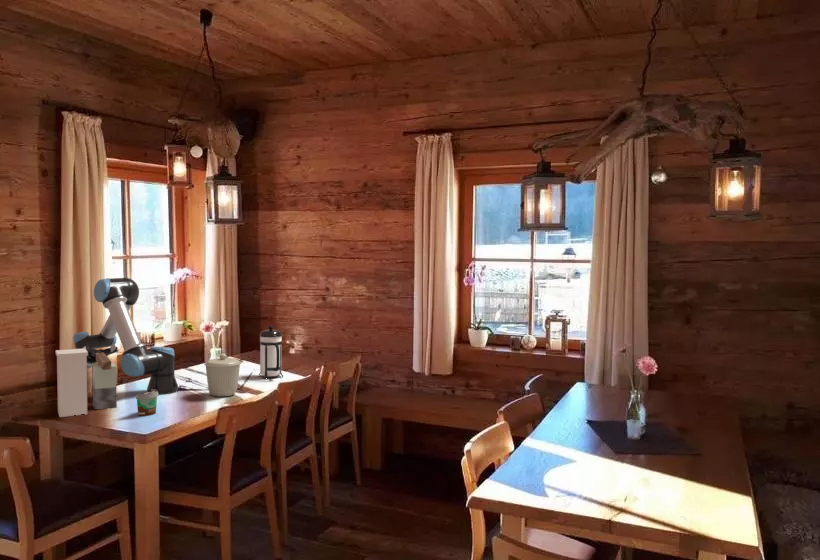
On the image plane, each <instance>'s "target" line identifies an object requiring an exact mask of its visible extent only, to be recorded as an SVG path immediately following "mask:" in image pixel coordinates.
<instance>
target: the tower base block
mask: <svg viewBox="0 0 820 560" xmlns="http://www.w3.org/2000/svg"><path fill="white" fill-rule="evenodd" d="M117 396H118V395H117V386H116V387H113V388H102V389H95V388H94V386H93V385H92V406H93V409H94V410H95V409H101V410H108V409H107V408H110V409H117V407H118V406H117V401H118V400H117Z"/></svg>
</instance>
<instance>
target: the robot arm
mask: <svg viewBox="0 0 820 560" xmlns="http://www.w3.org/2000/svg"><path fill="white" fill-rule="evenodd" d="M93 296H94V299H95V301H97V302H98V303H102V306H103V308H104V309H108V312H109V316H107V317H108V318H106V319H107V320H106V321H105V323H104V325H103V327H102V329H101V330H100V332H99V333H98V334H91V335H89V333H88V332H87V331H80V332H78V333H75V334H73V337H72V338H73V344H74V346H75V349H86V350H87V352H88V356H87V370H89V369H91V368H92V364H96V363H98V362H97V361H96V353H103V352H104V354H105V355H106V356H107V357H108V356H110V355H112V354H115V353H118V352H119V349H118V347H117V346H116V343H117V340H118V339H117V335H118V338H119V340H120V343H121V346H122V347H123V351H122V357H121V359H120V367H121V369H122V371H123V373H124V374H125V375H127V376H129V377H132V378H133V377H141V376H145V375H150V378H149V381H148V385H147V387H146V392H150V391H151V389H155V390H157V391H158V394H159V395H166V394H168V395H169V394H173V392H174V393H176V391H177V390H178V391H179V385H178V382H177V379H176V376H175V357H176V354H175V349H174V348H172V347H169V346H168V347H167V346H151V347H150V349H149V350H148V348H147V346H146V344H142V341H141V339H140V337H139V333H138V332H137V328H136V327H135V323H134V321H133V319H132V316H131V314H130V309H131V308H132V306H134V305H135V304H136V303H137V301H138V299H139V296H140V288H139V285H138V284H137V282H135V281H134V280H133V279H132V278H130V277H119V278H118V277H113V278H110V277H109V278H108V277H107V278H101V279H99V280H97V281H96V283H95V285H94V288H93ZM116 334H117V335H116ZM101 348H103V349H101ZM104 348H105V349H104ZM178 391H177V392H178Z"/></svg>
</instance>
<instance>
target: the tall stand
mask: <svg viewBox="0 0 820 560" xmlns="http://www.w3.org/2000/svg"><path fill="white" fill-rule="evenodd" d="M55 356H56V377H57V378H56V380H57V383H56V384H57V390H56V391H57V414H58V416H59V418H65V417H74V415H76V416H82V415H81V414H85V415H88V376H87V375H88V369H87V356H88V352H87V350H86V349H76V348H72V349H71V348H70V349H59V350H58V349H56V350H55Z"/></svg>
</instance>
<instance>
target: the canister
mask: <svg viewBox="0 0 820 560" xmlns="http://www.w3.org/2000/svg"><path fill="white" fill-rule="evenodd" d="M241 364H242V361H241V360H238V359H237V358H232V357H227V354H225V353H220V354H219V356H218V357H217V358H213V359H208V360H207V361H206V362H205V361H204V366H205V371H206V372H205V373H206V381H207V389H208V392H209V394H210V395H211V396H213V397H219V398H221V397H223V398H225V397H230V396H233V395H235V394H236V393H237V390H238V385H239V375H240V367H241Z"/></svg>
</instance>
